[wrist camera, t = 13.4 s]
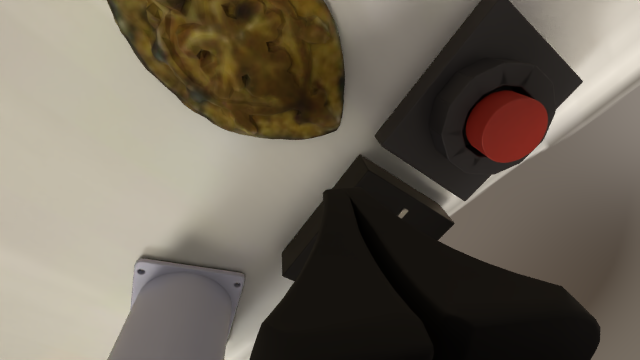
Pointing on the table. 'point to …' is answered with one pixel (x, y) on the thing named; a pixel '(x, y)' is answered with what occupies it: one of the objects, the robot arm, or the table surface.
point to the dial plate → (384, 190)
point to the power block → (474, 95)
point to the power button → (506, 125)
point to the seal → (243, 61)
